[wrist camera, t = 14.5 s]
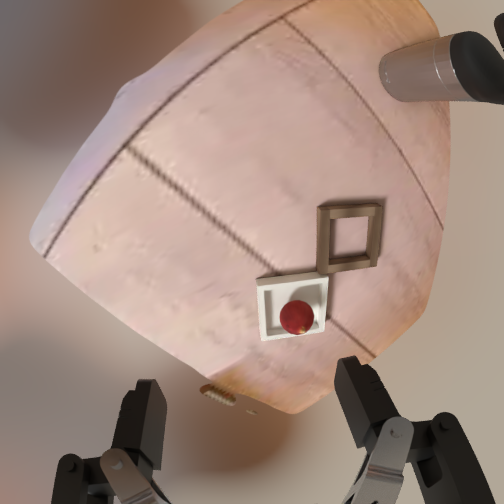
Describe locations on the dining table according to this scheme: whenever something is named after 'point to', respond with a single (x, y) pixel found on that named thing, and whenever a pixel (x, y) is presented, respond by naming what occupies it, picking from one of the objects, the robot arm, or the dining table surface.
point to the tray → (288, 289)
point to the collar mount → (324, 235)
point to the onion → (296, 317)
